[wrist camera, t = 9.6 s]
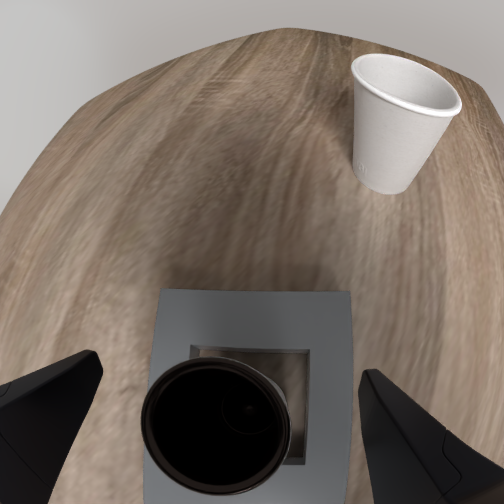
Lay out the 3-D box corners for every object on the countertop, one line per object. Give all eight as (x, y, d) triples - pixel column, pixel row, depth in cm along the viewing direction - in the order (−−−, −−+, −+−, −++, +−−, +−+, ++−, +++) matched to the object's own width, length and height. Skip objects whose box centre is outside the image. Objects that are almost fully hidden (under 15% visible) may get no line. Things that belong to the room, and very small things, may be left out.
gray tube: (233, 451, 15) (177, 511, 6) (203, 390, 17) (118, 385, 8) (299, 422, 15) (319, 463, 6) (267, 361, 17) (247, 330, 8)
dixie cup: (367, 219, 21) (403, 117, 12) (322, 149, 25) (329, 54, 16) (438, 194, 22) (482, 110, 13) (390, 135, 26) (411, 53, 17)
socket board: (330, 543, 10) (334, 555, 9) (156, 526, 12) (145, 536, 10) (343, 301, 19) (350, 290, 17) (171, 297, 20) (160, 288, 18)
